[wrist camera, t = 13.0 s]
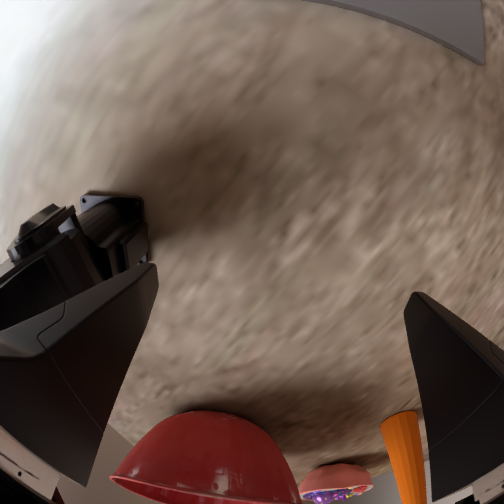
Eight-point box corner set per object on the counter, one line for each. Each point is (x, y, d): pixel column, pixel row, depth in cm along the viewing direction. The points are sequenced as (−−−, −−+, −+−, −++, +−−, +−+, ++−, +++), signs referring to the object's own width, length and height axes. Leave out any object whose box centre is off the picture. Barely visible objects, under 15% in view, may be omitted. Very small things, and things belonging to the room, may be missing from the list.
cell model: (342, 475, 55) (345, 508, 46) (281, 472, 52) (280, 510, 43) (386, 454, 48) (392, 492, 38) (322, 453, 45) (324, 499, 35)
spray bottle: (399, 401, 34) (426, 548, 11) (421, 414, 37) (446, 533, 14) (362, 420, 37) (377, 560, 14) (389, 431, 40) (406, 546, 17)
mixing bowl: (282, 459, 47) (280, 520, 33) (149, 437, 46) (132, 497, 33) (328, 396, 33) (337, 500, 20) (120, 363, 33) (79, 457, 19)
